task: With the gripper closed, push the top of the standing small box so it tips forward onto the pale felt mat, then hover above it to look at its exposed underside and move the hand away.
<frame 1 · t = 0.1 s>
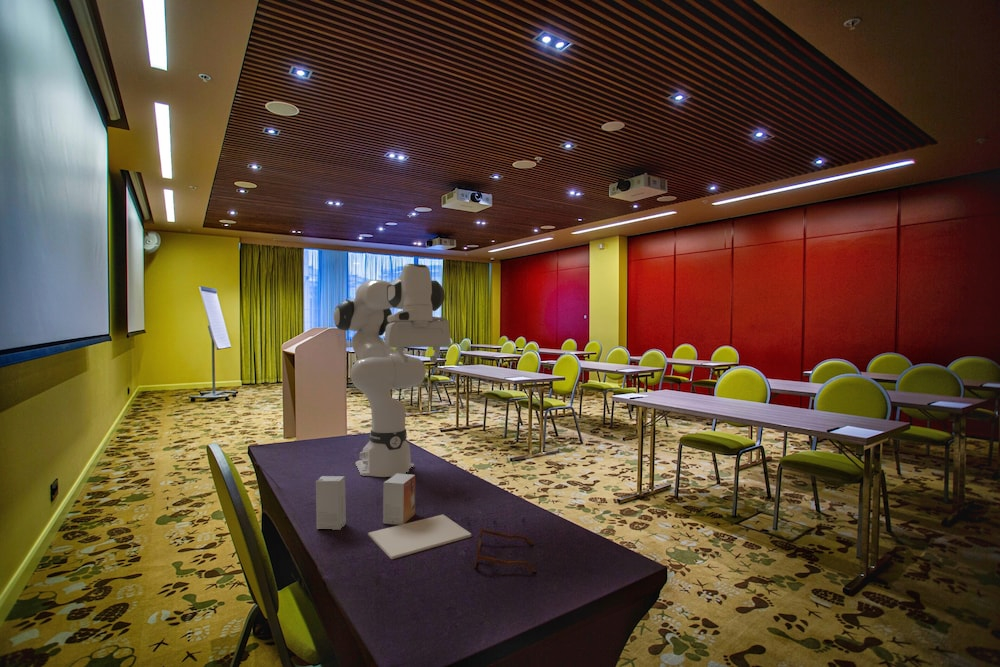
hand: (419, 362, 142), 39 cm above the table, tool pointing down, fingers open, 8 cm apart
felt mat: (419, 535, 112), on the table
glasses: (505, 560, 103), on the table
skincare box: (330, 527, 117), on the table
small box: (399, 519, 122), on the table
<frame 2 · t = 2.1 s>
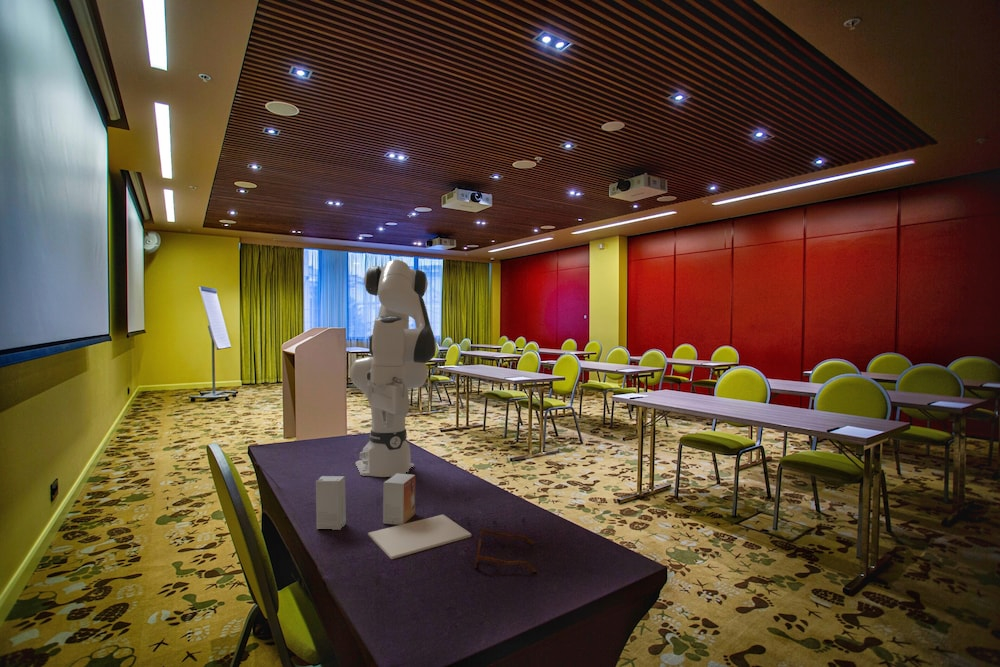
hand: (387, 426, 129), 22 cm above the table, tool pointing down, fingers closed
nothing on the table moved.
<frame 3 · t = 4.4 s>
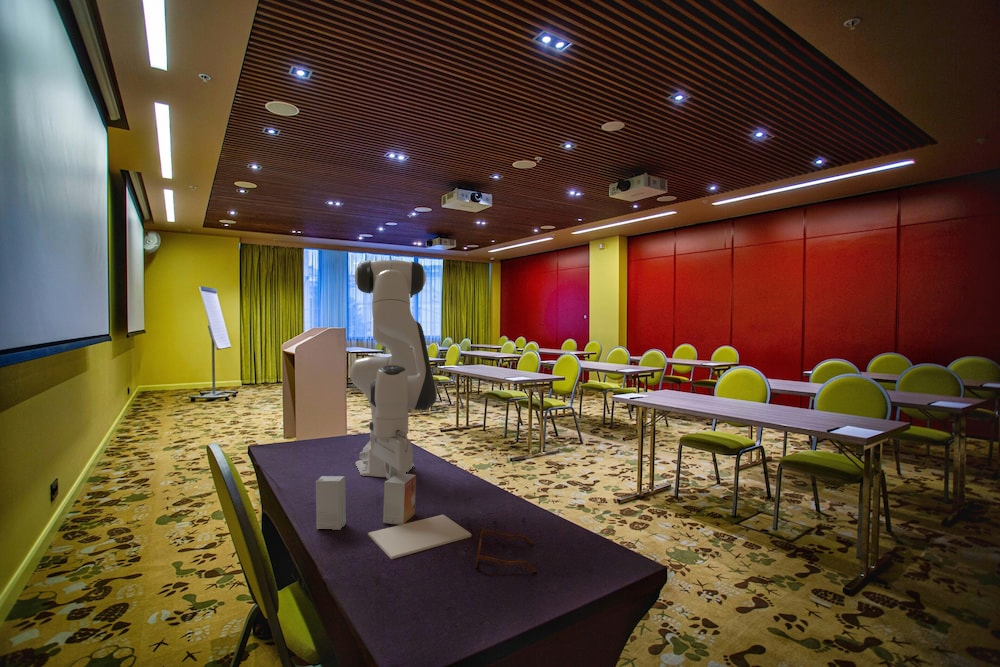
hand: (390, 479, 126), 9 cm above the table, tool pointing down, fingers closed
small box: (399, 519, 122), on the table, touching gripper
everything else where it was.
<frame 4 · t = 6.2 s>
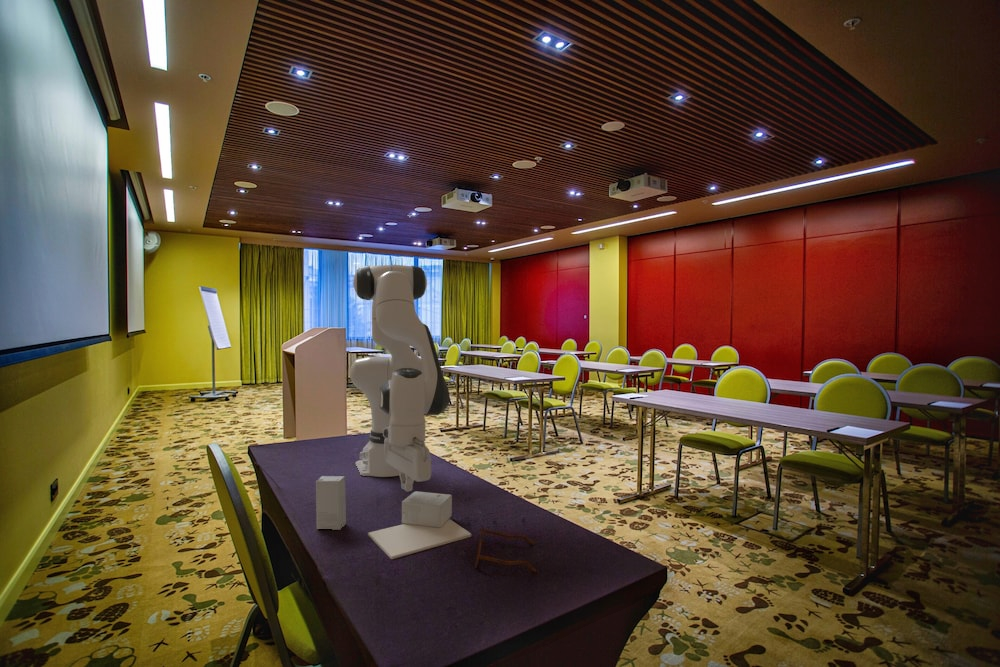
hand: (406, 489, 118), 9 cm above the table, tool pointing down, fingers closed
small box: (407, 506, 122), point 3 cm above the table, touching felt mat
everything else where it was.
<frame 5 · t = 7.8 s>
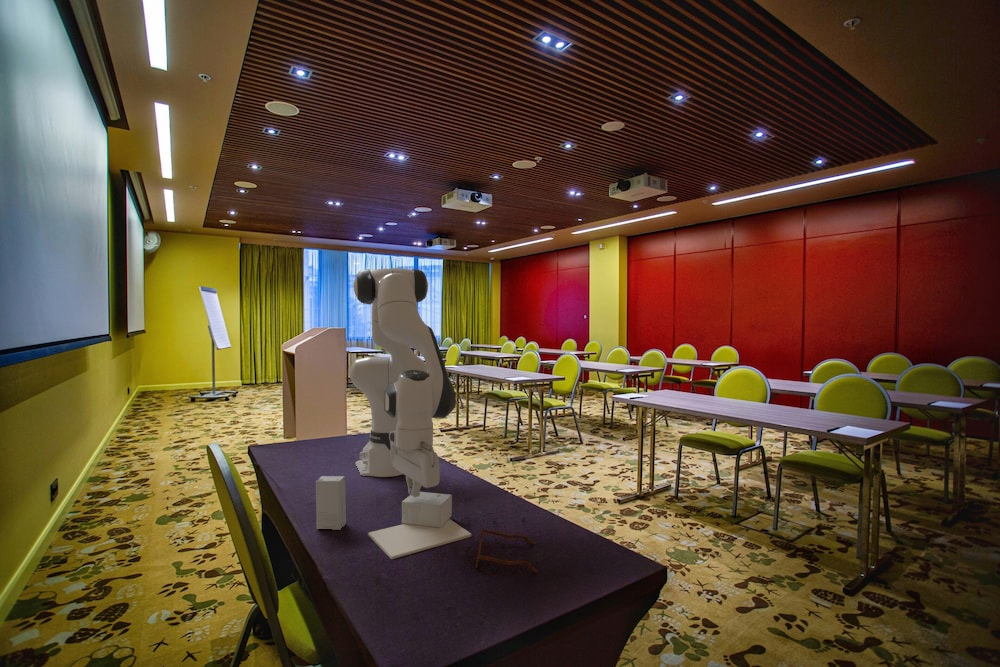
hand: (413, 495, 115), 9 cm above the table, tool pointing down, fingers closed
nothing on the table moved.
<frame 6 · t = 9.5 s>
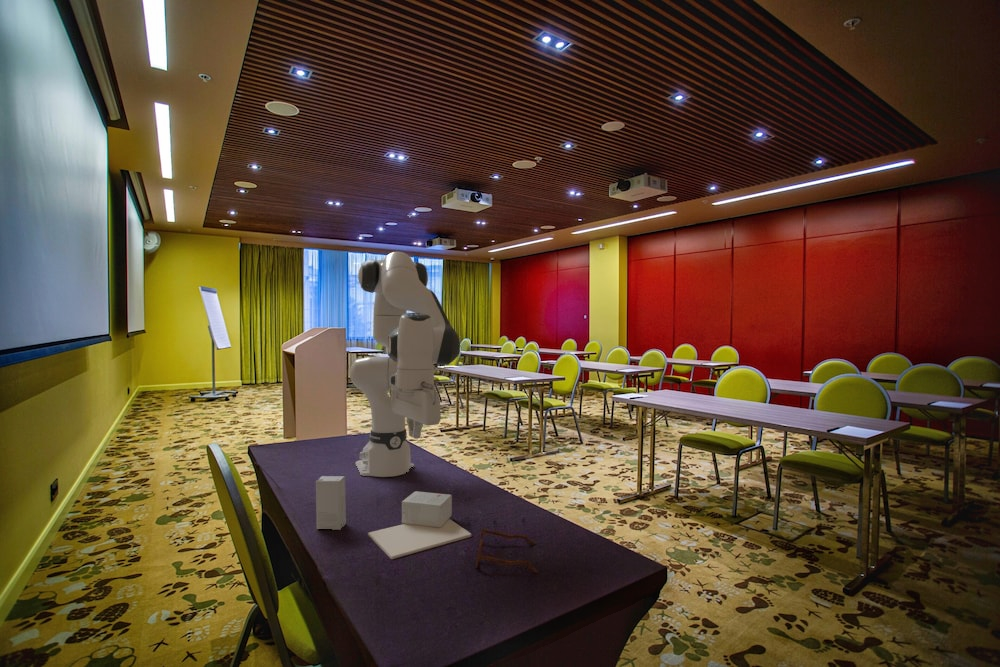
hand: (414, 437, 115), 23 cm above the table, tool pointing down, fingers closed
nothing on the table moved.
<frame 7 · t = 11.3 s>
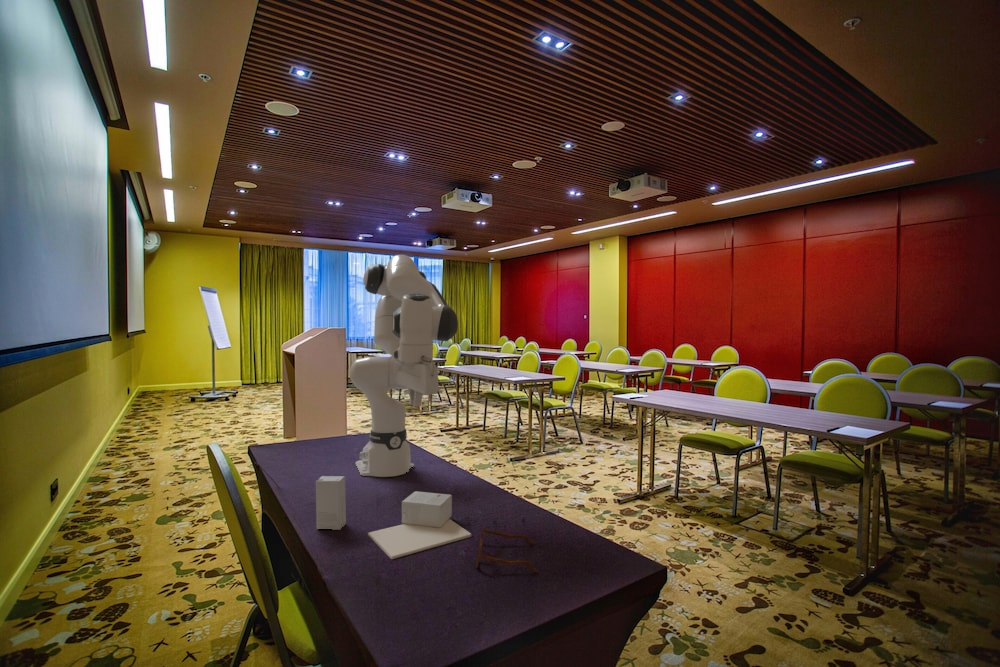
hand: (415, 405, 128), 28 cm above the table, tool pointing down, fingers closed
nothing on the table moved.
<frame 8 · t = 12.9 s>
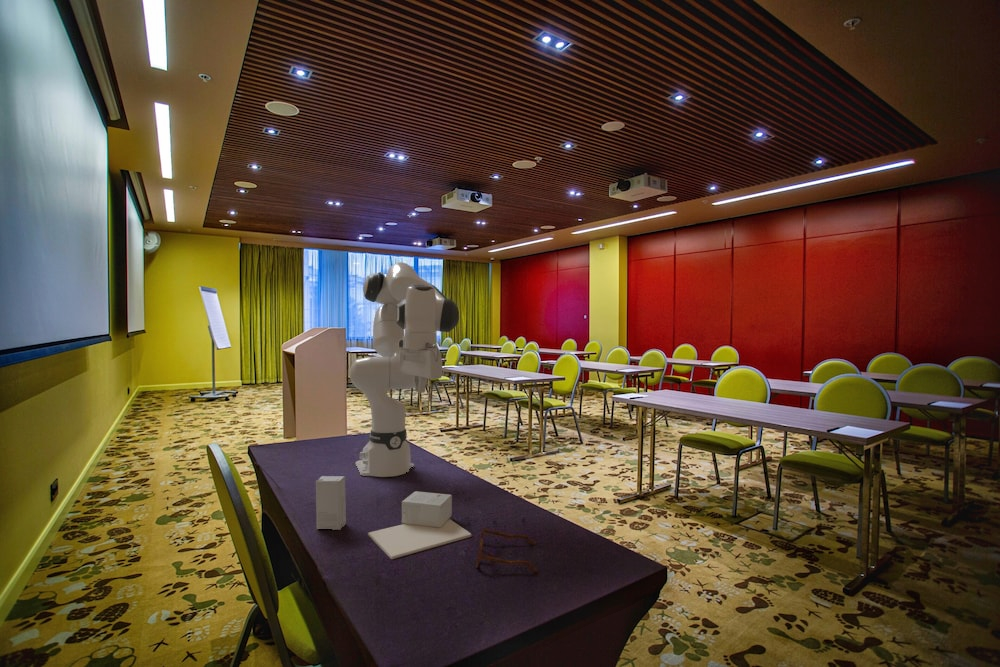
hand: (419, 392, 133), 31 cm above the table, tool pointing down, fingers closed
nothing on the table moved.
at the end: small box tilted 90°; small box touching felt mat; small box inside the target area (5.6 cm from its centre), point 3.4 cm above the table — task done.
